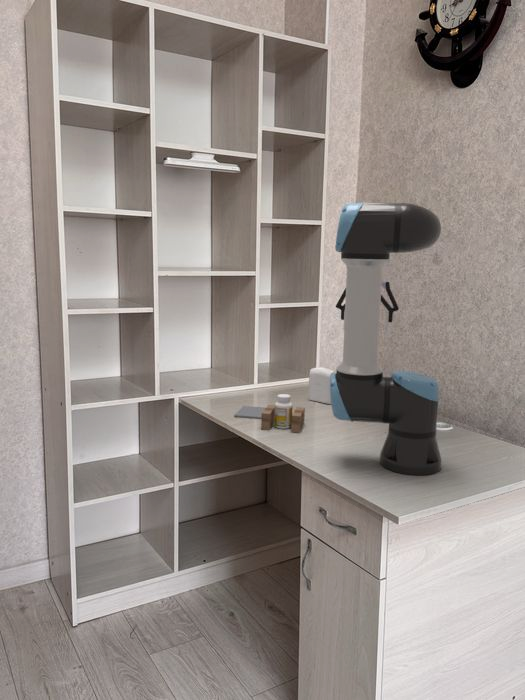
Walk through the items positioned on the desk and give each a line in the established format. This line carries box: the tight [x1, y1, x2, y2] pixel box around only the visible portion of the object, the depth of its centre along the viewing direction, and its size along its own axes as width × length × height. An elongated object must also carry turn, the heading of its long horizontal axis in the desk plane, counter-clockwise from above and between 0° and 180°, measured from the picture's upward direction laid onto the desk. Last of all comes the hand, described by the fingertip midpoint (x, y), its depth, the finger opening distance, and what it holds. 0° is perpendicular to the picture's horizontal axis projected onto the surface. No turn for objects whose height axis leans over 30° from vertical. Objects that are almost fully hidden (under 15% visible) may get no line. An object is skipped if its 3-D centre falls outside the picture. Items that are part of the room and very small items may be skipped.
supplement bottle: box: [273, 393, 294, 430], centre depth 181 cm, size 5×5×10 cm
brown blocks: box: [260, 404, 306, 434], centre depth 182 cm, size 10×12×5 cm
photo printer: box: [308, 366, 336, 405], centre depth 212 cm, size 10×4×12 cm, turn 47°
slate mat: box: [233, 405, 266, 420], centre depth 196 cm, size 12×12×1 cm
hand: (365, 331), depth 196 cm, fingers open, 13 cm apart
